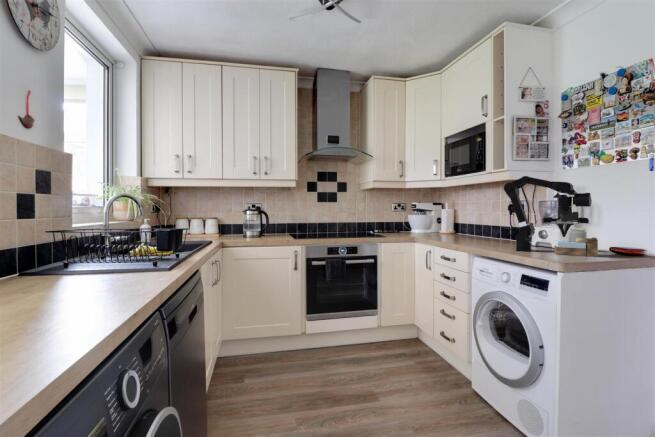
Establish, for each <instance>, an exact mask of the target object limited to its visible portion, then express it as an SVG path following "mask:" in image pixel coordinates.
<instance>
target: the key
mask: <svg viewBox="0 0 655 437" xmlns="http://www.w3.org/2000/svg"><path fill="white" fill-rule="evenodd" d="M587 239H597V237H591V238H589V237H586V238H576V242H585V243H587Z"/></svg>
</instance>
